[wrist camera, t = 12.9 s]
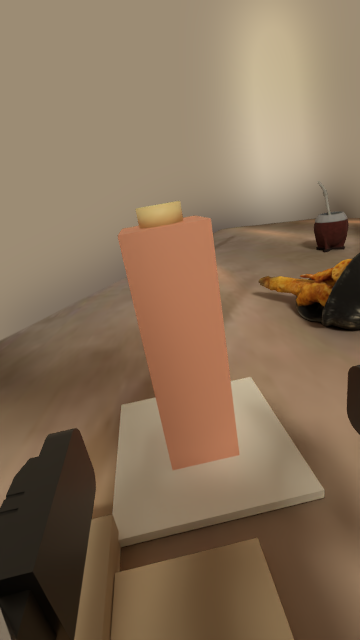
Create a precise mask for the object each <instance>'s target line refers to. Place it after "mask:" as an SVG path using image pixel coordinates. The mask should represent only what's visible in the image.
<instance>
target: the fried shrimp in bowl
mask: <svg viewBox="0 0 360 640" xmlns="http://www.w3.org/2000/svg"><path fill="white" fill-rule="evenodd" d="M300 277H303V278H310V279H308V280H307V279H294V278H289V277H281V276H279V277H269V276H266V277H263V278H261V279H260V280H259V283H260V285H262V286H264V287H266V288H268V289H270V290H276V291H277V292H285V293H292V294H294V295H296V296H297V298H296V307H297V310H298V312H299V314H300V315H301V316H302V317H303V318H305V319H307V320H310V321H318V322H322V324H323V325H324V326H330V325H334V326H337V327H341V328H345V329H354V330H358V329H360V253H359V254H357V255H356V256H355V257H354V258H353V259H347V260H344V261H341V262H340V263H339V264H337V265H336V266H335V267H334V268H331V269H327V270H325V271H323V272H318V273H317V274H314V275H312V274H305V275H300Z"/></svg>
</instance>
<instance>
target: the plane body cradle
mask: <svg viewBox="0 0 360 640" xmlns="http://www.w3.org/2000/svg"><path fill="white" fill-rule="evenodd" d="M118 536H119V531H118V528H117V525H116V523H115V520H114V517H113V514H111V515H107V516H103V517H98V518H94V519H91V526H90V533H89V540H88V547H87V554H86V561H85V568H84V575H83V582H82V589H81V596H80V603H79V610H78V616H77V623H76V630H75V637H74V640H294V638H293V635H292V632H291V629H290V626H289V624H288V621H287V618H286V615H285V613H284V610H283V607H282V604H281V601H280V599H279V596H278V593H277V590H276V587H275V585H274V582H273V579H272V576H271V573H270V571H269V568H268V565H267V562H266V560H265V557H264V554H263V551H262V548H261V546H260V543H259V540H258V538H254V539H250V540H246V541H242V542H238V543H234V544H230V545H226V546H222V547H217V548H213V549H209V550H205V551H201V552H197V553H193V554H189V555H185V556H181V557H177V558H173V559H169V560H165V561H161V562H157V563H153V564H149V565H145V566H141V567H137V568H133V569H129V570H125V571H121V572H120V555H121V546H120V543H119V541H118Z"/></svg>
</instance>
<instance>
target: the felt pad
mask: <svg viewBox="0 0 360 640" xmlns="http://www.w3.org/2000/svg"><path fill="white" fill-rule="evenodd" d="M231 389H232V397H233V405H234V413H235V422H236V430H237V438H238V446H239V454H240V455H238V456H233V457H229V458H224V459H220V460H216V461H211V462H207V463H203V464H198V465H194V466H190V467H185V468H181V469H177V470H172V466H171V462H170V457H169V453H168V449H167V444H166V440H165V436H164V432H163V427H162V423H161V419H160V415H159V410H158V406H157V402H156V398H151V399H146V400H142V401H137V402H133V403H128V404H123V405H121V417H120V428H119V440H118V452H117V464H116V476H115V488H114V499H113V511H112V514H113V517H114V520H115V523H116V525H117V528H118V531H119V536H118V541H119V543H120V546H121V547H124V546H128V545H132V544H136V543H140V542H145V541H149V540H153V539H157V538H161V537H165V536H169V535H173V534H177V533H181V532H185V531H190V530H194V529H198V528H202V527H206V526H210V525H214V524H218V523H222V522H226V521H230V520H235V519H239V518H243V517H247V516H251V515H255V514H259V513H263V512H267V511H271V510H276V509H280V508H284V507H288V506H292V505H296V504H300V503H304V502H308V501H312V500H316V499H321V498H324V488H323V487H322V485H321V484H320V482H319V481H318V479H317V478H316V476H315V475H314V473H313V472H312V470H311V469H310V467H309V465H308V464H307V462H306V461H305V459H304V458H303V456H302V455H301V453H300V452H299V450H298V449H297V447H296V446H295V444H294V443H293V441H292V439H291V438H290V436H289V435H288V433H287V432H286V430H285V429H284V427H283V426H282V424H281V423H280V421H279V420H278V418H277V417H276V415H275V413H274V412H273V410H272V409H271V407H270V406H269V404H268V403H267V401H266V400H265V398H264V397H263V395H262V394H261V392H260V390H259V389H258V387H257V386H256V384H255V383H254V381H253V380H252V378H251V377H248V378H243V379H239V380H234V381H231Z"/></svg>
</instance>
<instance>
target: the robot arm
mask: <svg viewBox="0 0 360 640" xmlns="http://www.w3.org/2000/svg"><path fill="white" fill-rule="evenodd" d="M347 414H348V418H349V420H350V422H351V424H352V426H353V428H354V429H355V430H356V431H357V432H358V433H359V434H360V365H357V366H353V367H351V368H350V369H349V372H348V391H347ZM95 491H96V481H95V474H94V469H93V466H92V463H91V461H90V458H89V455H88V452H87V450H86V447H85V444H84V441H83V439H82V436H81V433H80V431H79V430H78V429H77V428H75V429H70V430H66V431H61V432H57V433H53V434H49V435H48V436H47V437H46V439H45V442H44V444H43V447H42V450H41V452H40V455H39V457H34V458H30V459H29V460H28V461H27V463H26V464H25V465H24V466H23V467H22V468H21V470H20V471H19V472H18V473H17V474H16V476H15V477H14V479H13V481H12V484H11V486H10V488H9V490H8V492H7V495H6V500H4V501H3V504H2V506H1V508H0V640H74V637H75V630H76V623H77V616H78V610H79V603H80V596H81V589H82V582H83V575H84V568H85V561H86V554H87V547H88V540H89V533H90V526H91V519H92V513H93V506H94V499H95Z"/></svg>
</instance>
